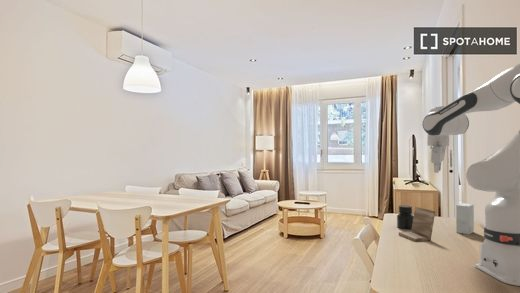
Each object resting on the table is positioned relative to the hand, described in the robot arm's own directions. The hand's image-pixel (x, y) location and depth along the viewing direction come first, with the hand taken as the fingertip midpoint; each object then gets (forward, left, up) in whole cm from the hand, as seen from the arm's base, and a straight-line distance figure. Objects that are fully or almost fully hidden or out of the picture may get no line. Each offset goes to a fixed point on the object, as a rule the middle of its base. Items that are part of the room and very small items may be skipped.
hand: (437, 171), depth 143 cm
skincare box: (+25, -20, -34) cm, 46 cm away
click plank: (+10, +5, -33) cm, 35 cm away
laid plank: (+7, +9, -33) cm, 35 cm away
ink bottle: (+30, +8, -34) cm, 45 cm away
